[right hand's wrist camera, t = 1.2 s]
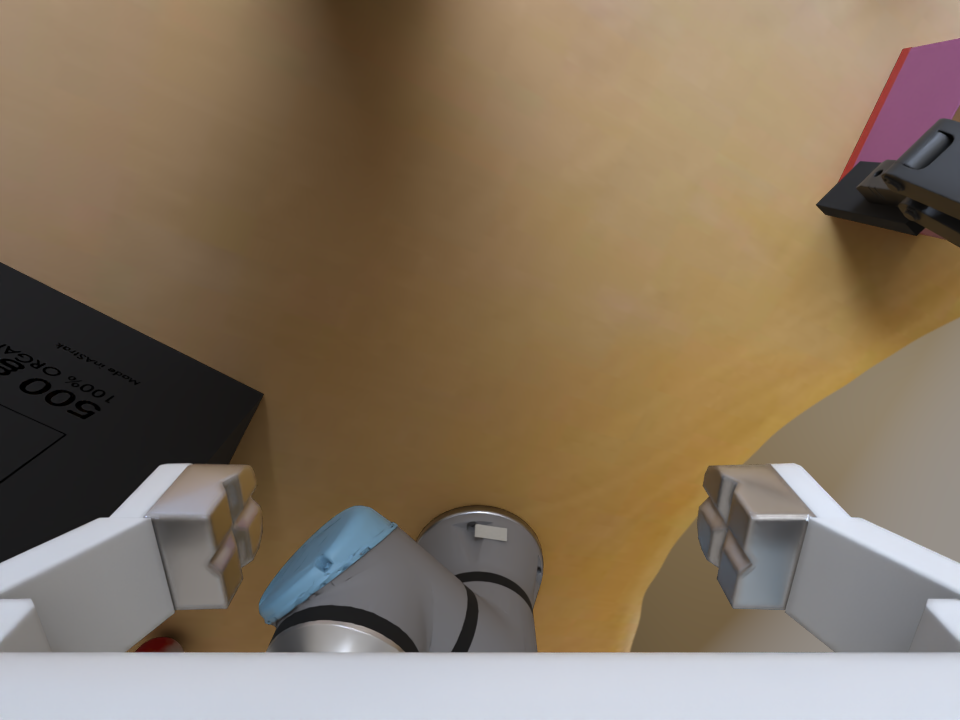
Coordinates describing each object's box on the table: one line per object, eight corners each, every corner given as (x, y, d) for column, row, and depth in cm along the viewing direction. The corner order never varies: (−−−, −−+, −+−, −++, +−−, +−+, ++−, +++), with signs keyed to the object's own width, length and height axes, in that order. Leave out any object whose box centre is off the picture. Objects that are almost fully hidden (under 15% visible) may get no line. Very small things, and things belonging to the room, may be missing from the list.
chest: (902, 48, 48) (998, 29, 39) (1005, 83, 49) (1121, 72, 40) (826, 205, 53) (896, 220, 44) (921, 234, 54) (1009, 254, 45)
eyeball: (181, 669, 74) (156, 712, 69) (136, 645, 73) (108, 688, 67) (204, 642, 73) (181, 685, 67) (159, 618, 71) (132, 659, 65)
